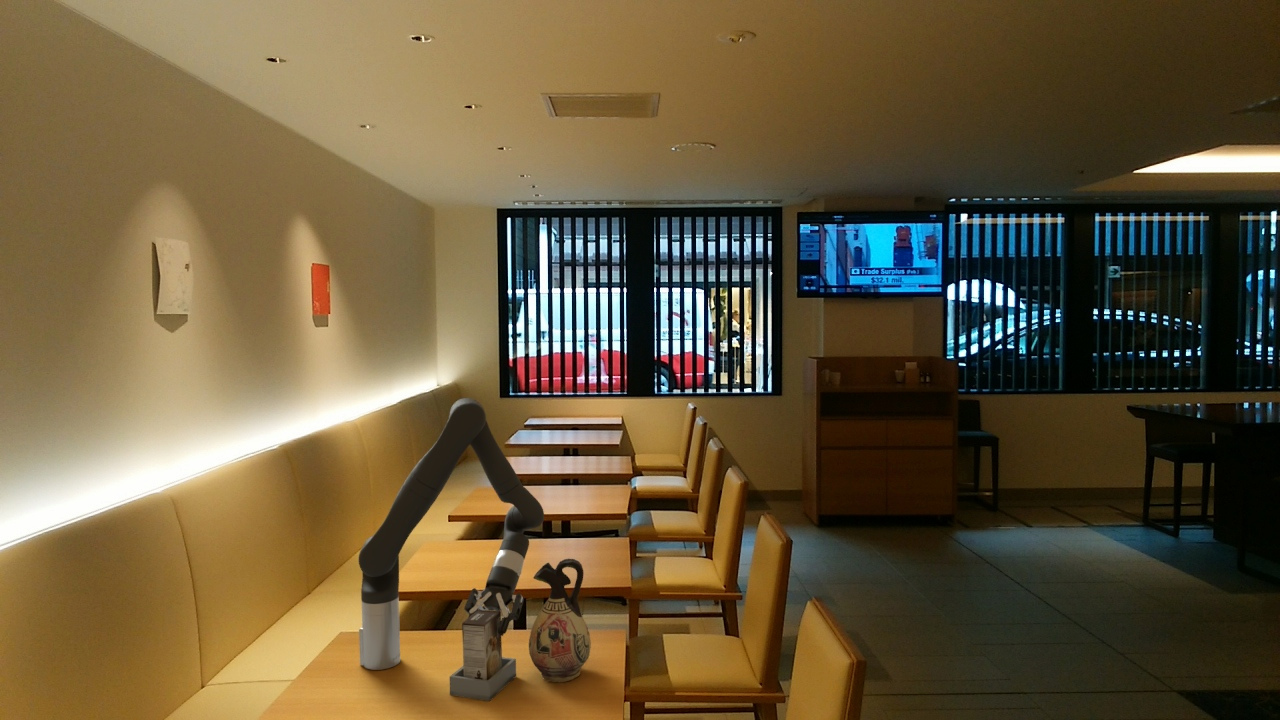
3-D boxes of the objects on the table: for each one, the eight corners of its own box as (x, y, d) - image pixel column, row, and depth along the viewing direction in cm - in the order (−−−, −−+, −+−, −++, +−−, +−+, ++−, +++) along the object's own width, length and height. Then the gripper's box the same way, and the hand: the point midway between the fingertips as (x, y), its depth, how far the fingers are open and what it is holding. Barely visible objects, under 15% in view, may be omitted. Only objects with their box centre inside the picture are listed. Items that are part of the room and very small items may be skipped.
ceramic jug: (524, 689, 197) (521, 567, 195) (534, 662, 212) (532, 548, 211) (594, 689, 197) (592, 567, 195) (599, 662, 212) (598, 548, 210)
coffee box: (479, 671, 205) (477, 608, 204) (503, 674, 203) (501, 610, 202) (462, 688, 196) (461, 622, 195) (487, 690, 194) (486, 624, 193)
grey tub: (449, 695, 194) (449, 676, 194) (478, 671, 207) (478, 653, 207) (489, 701, 191) (489, 682, 191) (516, 676, 204) (515, 658, 204)
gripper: (475, 562, 209) (452, 622, 199) (526, 567, 205) (505, 629, 195) (486, 576, 215) (464, 635, 204) (535, 581, 210) (515, 642, 200)
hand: (484, 632), depth 199 cm, fingers open, 8 cm apart
